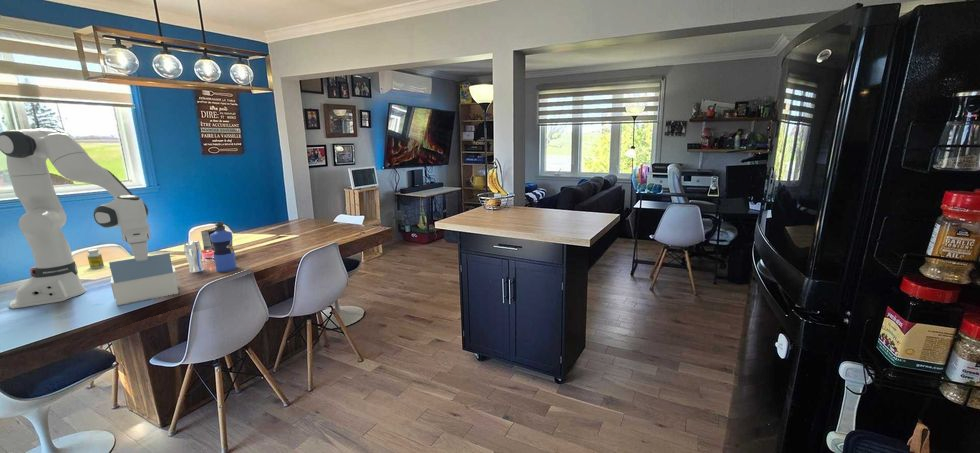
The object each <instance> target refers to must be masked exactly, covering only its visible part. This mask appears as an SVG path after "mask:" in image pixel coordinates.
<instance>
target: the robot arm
mask: <svg viewBox="0 0 980 453" xmlns="http://www.w3.org/2000/svg"><path fill="white" fill-rule="evenodd" d="M0 152H1V153H2V154H4V155H5V156H6V159H5V160H6V166H7V172H8V175H9V179H10V182H11V185H12V189H13V191H14V195H15V196H16V198H17V199H18V200H19V201H20V203H21V205H22V206H23V209H24V210H25V213H24V214H22V215H21V216H20V218H19V221H18V228H19V229H20V231H21V232H22V233H23V236H24V239H25V240H26V241H27V244H28V245H29V247H30V249H31V253H32V256H33V259H34V260H33V261H34V264H35V266H32V267H31V268H30V269H29V271H30V272H29V273H30V276H31V278H29V279H28V280H27V281H26V282H24V283H22V285H20V286H19V287H18V288H17V290H16V291H15V299H13V300H11V301H10V302H9V304H8V305H9V308H10V309H13V310H14V309H19V308H27V307H33V306H40V305H46V304H53V303H58V302H59V303H60V302H63V301H66V300H68V299H71V298H74V297H78V296H80V295H83V294H85V293H86V292H87V289H86V288H85V287H84V285H83V283H82V282H81V280H80V277H79V275H78V274H79V272H78V266H77V264H76V262H75V261H74V258H73V255H72V250H71V246H70V243H69V242H68V241H67V239H66V236H65V234H64V232H63V230H62V228H63V227H64V226H65V225H66V223H67V218H68V217H67V214H66V212H65V210H64V207H63V205H62V203H61V201H60V199H59V197H58V196H57V194H56V193H57V192H56V190H55V188H54V183H53V182H52V177H51V174H50V171H49V167H48V164H47V160H49V162H50V163H51V164H52V166H53V167H54V168H55V170H56V171H57V172H58V173H59V174H60V175H61V176H62V177H64V178H65V179H67V180H70V181H73V182H77V183H84V184H85V183H86V184H90V185H95V186H98V187H101V188H103V189H104V190H106V191H107V193H108V194H110V195H111V196H112V197H113V200H111V201H109V202H107V203H104V204H101V205H97V206H96V208H95V209H94V210H93V218H94V221H95V222H96V223H97V225H98V226H100V227H103V228H104V229H105V228H116V227H119V228H120V232H121V236H122V240H123V242H125V243H127V244H128V245H129V247H130V249H131V252H132V255H133V258H135V260H136V261H137V262H138V261H145V260H147V259H148V256H149V255H148V254H149V252H148V242H149V239H150V238H151V237H152V235H151V230H150V226H149V225H150V224H149V223H148V220H147V218H148V215H149V209H148V206H147V205H146V203H144V202H143V200H142V198H141V197H140V196H138V195H134V193H132V191H130V189H128V188H127V187H126V185H124V183H122V181H120V179H118V177H117V176H115V174H114V173H112V171H110V170H108V169H107V168H105V167H103V166H101V165H100V164H98V163H97V162H95V160H94V159H92V158H91V156H90V155H89V154H88V152H86V150H85V149H84V148H83V147H82V146H81V144H79V143H78V142H77V140H76V139H74V138H73V136H71V134H70V133H69V132H67V131H65V130H60V129H56V128H52V129H47V128H31V129H30V128H28V129H11V130H10V129H9V130H4V131H2V132H0Z"/></svg>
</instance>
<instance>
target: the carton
mask: <svg viewBox="0 0 980 453" xmlns="http://www.w3.org/2000/svg"><path fill="white" fill-rule="evenodd" d="M172 269H173V273H168V274H162V275H157V276H151V277H146V278H140V279H135V280H129V281H124V282H118V283H114V281H113V277H112V275H111V276H110V286H111V292H112V295H113V298H114V300H115V301H116V305H117V307H120V306H121V307H122V306H126V305H130V304H136V303H139V302H145V301H149V300H156V299H158V298H159V297H160V298H164V296H165V297H168V295H169V296H173V294H174V295H178V293H180V292H179V281H178V277H177V276H178V275H177V271H176V268H175V266H174V264H172Z"/></svg>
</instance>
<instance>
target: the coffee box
mask: <svg viewBox="0 0 980 453" xmlns="http://www.w3.org/2000/svg"><path fill="white" fill-rule="evenodd" d="M215 231H216V230H215V227H213V228H209V229H205V230H201V231H200V233H201V238H202V240H201V241H202V246H203V251H204V250H213V251H214V248H213V245H212V242H211V238H210V235H211V234H212V233H214V232H215Z"/></svg>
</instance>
